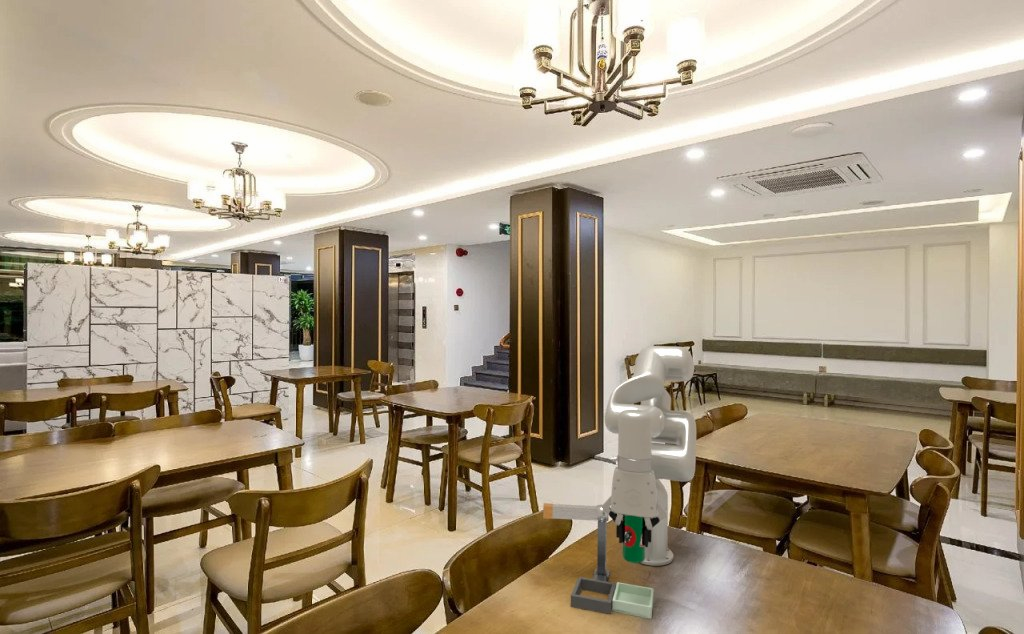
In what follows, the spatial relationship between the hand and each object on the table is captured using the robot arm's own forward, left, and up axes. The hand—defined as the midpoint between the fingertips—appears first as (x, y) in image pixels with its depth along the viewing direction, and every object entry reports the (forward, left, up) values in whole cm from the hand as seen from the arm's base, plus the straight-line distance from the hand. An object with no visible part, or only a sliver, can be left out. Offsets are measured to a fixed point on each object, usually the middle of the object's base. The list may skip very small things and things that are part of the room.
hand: (633, 542), depth 116 cm
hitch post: (-9, -9, -15) cm, 19 cm away
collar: (+1, -9, -15) cm, 17 cm away
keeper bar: (-10, -16, 0) cm, 18 cm away
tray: (0, 0, -15) cm, 15 cm away
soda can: (0, 0, -4) cm, 4 cm away
